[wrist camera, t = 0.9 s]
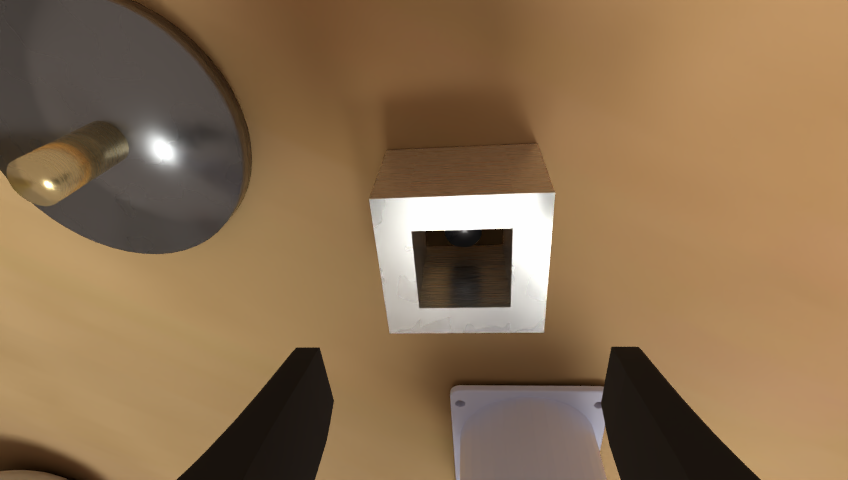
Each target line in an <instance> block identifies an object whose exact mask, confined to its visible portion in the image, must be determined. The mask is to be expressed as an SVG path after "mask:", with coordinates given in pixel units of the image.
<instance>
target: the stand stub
mask: <svg viewBox="0 0 848 480" xmlns="http://www.w3.org/2000/svg"><path fill="white" fill-rule="evenodd" d="M481 235H482V229H474V230H445V236H446V238H447V240H448V241H449V242H450V243H451V244H453V245H455V246H457V247H469V246H472V245H474V244H475V243H477V242H478V241H479V239H480V238H481Z"/></svg>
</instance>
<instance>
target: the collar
mask: <svg viewBox="0 0 848 480" xmlns="http://www.w3.org/2000/svg"><path fill="white" fill-rule="evenodd" d="M554 201H555V191H554V188H553V185H552V182H551V179H550V177H549V174H548V171H547V168H546V166H545V163H544V160H543V157H542V155H541V152H540V149H539V146H538V143H533V144H511V145H489V146H467V147H445V148H423V149H401V150H387V151H386V154H385V157H384V159H383V162H382V165H381V168H380V170H379V173H378V176H377V178H376V181H375V184H374V187H373V189H372V192H371V195H370V197H369V203H370V209H371V216H372V222H373V229H374V235H375V241H376V248H377V254H378V261H379V267H380V274H381V280H382V287H383V293H384V300H385V306H386V312H387V319H388V325H389V332H390V333H544V325H545V312H546V300H547V288H548V275H549V263H550V251H551V238H552V226H553V214H554ZM474 229H503V245H472V246H469V247H457V246H427V243H426V231H438V230H474Z"/></svg>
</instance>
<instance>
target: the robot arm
mask: <svg viewBox="0 0 848 480" xmlns="http://www.w3.org/2000/svg"><path fill="white" fill-rule="evenodd" d="M459 400H461V401H459ZM450 401H451V416H452V430H453V445H454V459H455V474H456V480H607V478H606V474H605V470H604V467H603V463H602V459H601V455H600V448H601V443H602V438H603V433H604V429H605V426H606V431H607V435H608V440H609V445H610V448H611V451H612V454H613V457H614V460H615V463H616V466H617V469H618V472H619V476H620V479H621V480H761V479H760V478H758V477H757V476H756V475H755V474H754V473H753V472H752V471H751V470H750V469H749V468H748V467H747V466H746V465H745V464H744V463H743V462H742V461H741V460H740V459H739V458H738V457H737V456H736V455H735V454H734V453H733V452H732V451H731V450H730V449H729V448H728V447H727V446H726V445H725V444H724V443H723V442H722V441H721V440H720V439H719V438H718V437H717V436H716V435H715V434H714V433H713V432H712V431H711V429H710V428H709V427H708V426H707V425H706V424H705V423H704V422H703V421H702V420H701V419H700V417H699V416H698V415H697V414H696V413H695V412H694V411H693V410H692V409H691V408H690V407H689V405H688V404H687V403H686V402H685V401H684V400H683V399H682V398H681V396H680V395H679V394H678V393H677V392H676V391H675V389H674V388H673V387H672V386H671V385H670V384H669V382H668V381H667V380H666V379H665V378H664V376H663V375H662V374H661V373H660V372H659V370H658V369H657V368H656V367H655V366H654V364H653V363H652V362H651V361H650V360H649V358H648V357H647V356H646V355H645V353H644V352H643V351H642V350H641V349H640V348H639V347H611V353H610V358H609V363H608V368H607V374H606V379H605V384H604V387H603V386H510V385H457V386H454V387H453V388H452V389H451V391H450ZM333 403H334V399H333V396H332V392H331V388H330V385H329V381H328V377H327V374H326V370H325V366H324V362H323V359H322V355H321V351H320V348H296V349H295V350H294V351H293V352H292V353H291V354H290V356H289V357H288V358H287V359H286V360H285V362H284V363H283V364H282V365H281V367H280V368H279V369H278V370H277V371H276V373H275V374H274V375H273V376H272V378H271V379H270V380H269V381H268V382H267V384H266V385H265V386H264V387H263V388H262V390H261V391H260V392H259V393H258V394H257V396H256V397H255V398H254V399H253V400H252V401H251V403H250V404H249V405H248V406H247V407H246V408H245V409H244V411H243V412H242V413H241V414H240V415H239V416H238V418H237V419H236V420H235V421H234V422H233V423H232V424H231V425H230V426H229V427H228V428H227V430H226V431H225V432H224V433H223V434H222V435H221V436H220V437H219V438H218V439H217V440H216V441H215V442H214V443H213V444H212V445H211V447H210V448H209V449H208V450H207V451H206V452H205V453H204V454H203V455H202V456H201V457H200V458H199V459H198V460H197V461H196V462H195V463H194V464H193V465H192V466H191V467H190V468H189V469H188V470H186V471H185V472H184V473H183V474H182V475H181V476H180V477H179V478H178V479H177V480H315V477H316V474H317V471H318V467H319V464H320V461H321V458H322V454H323V451H324V448H325V444H326V441H327V436H328V431H329V426H330V420H331V415H332V409H333Z"/></svg>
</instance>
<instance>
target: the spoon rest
mask: <svg viewBox="0 0 848 480" xmlns="http://www.w3.org/2000/svg"><path fill="white" fill-rule="evenodd" d="M0 480H68V479H66V478H63V477H60V476H57V475H53V474H50V473H46V472H40V471H31V470H7V471H0Z"/></svg>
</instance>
